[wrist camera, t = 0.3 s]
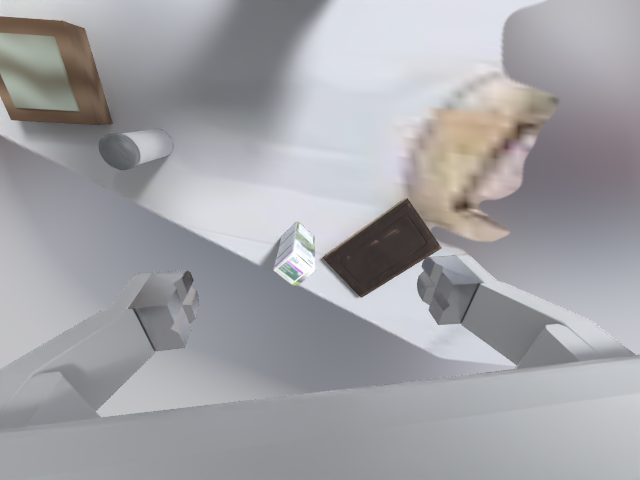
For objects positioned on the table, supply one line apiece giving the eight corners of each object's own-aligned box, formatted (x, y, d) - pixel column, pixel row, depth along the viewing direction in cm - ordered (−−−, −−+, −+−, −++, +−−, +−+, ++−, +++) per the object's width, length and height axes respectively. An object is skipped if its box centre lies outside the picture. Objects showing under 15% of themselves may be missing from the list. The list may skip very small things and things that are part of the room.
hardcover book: (323, 253, 62) (323, 258, 60) (404, 195, 56) (407, 198, 54) (360, 293, 68) (362, 298, 66) (438, 244, 61) (442, 249, 59)
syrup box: (280, 236, 59) (271, 272, 46) (297, 219, 57) (293, 251, 44) (298, 251, 61) (294, 289, 48) (315, 235, 59) (316, 271, 46)
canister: (142, 127, 48) (93, 133, 37) (170, 129, 48) (130, 135, 37) (149, 156, 50) (105, 169, 40) (176, 157, 50) (139, 170, 40)
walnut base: (-7, 22, 40) (-41, 12, 37) (84, 28, 41) (60, 20, 37) (34, 119, 47) (8, 120, 43) (112, 123, 47) (94, 124, 44)
